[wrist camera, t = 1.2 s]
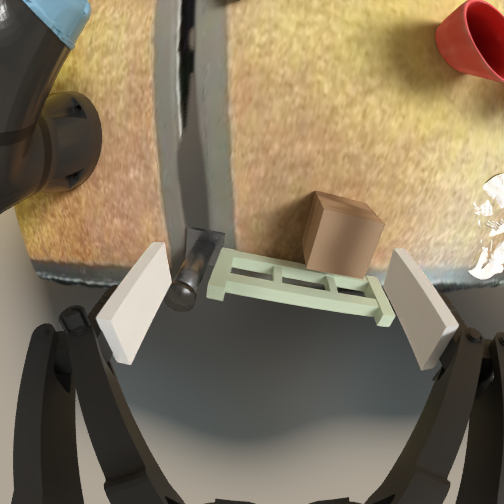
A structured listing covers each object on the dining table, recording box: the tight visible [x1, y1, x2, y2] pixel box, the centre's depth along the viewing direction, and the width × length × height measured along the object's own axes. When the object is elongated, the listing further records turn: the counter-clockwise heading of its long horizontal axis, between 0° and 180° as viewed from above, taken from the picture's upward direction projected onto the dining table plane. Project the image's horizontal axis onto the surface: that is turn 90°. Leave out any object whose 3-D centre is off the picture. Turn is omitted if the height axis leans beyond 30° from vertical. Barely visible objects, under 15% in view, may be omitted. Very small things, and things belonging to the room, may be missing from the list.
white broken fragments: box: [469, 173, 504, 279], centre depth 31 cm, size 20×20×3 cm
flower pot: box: [435, 0, 504, 83], centre depth 16 cm, size 11×11×10 cm
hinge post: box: [163, 226, 225, 312], centre depth 32 cm, size 5×5×12 cm
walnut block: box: [301, 191, 385, 279], centre depth 31 cm, size 7×7×7 cm
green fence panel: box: [207, 247, 395, 327], centre depth 33 cm, size 22×2×8 cm, turn 80°
